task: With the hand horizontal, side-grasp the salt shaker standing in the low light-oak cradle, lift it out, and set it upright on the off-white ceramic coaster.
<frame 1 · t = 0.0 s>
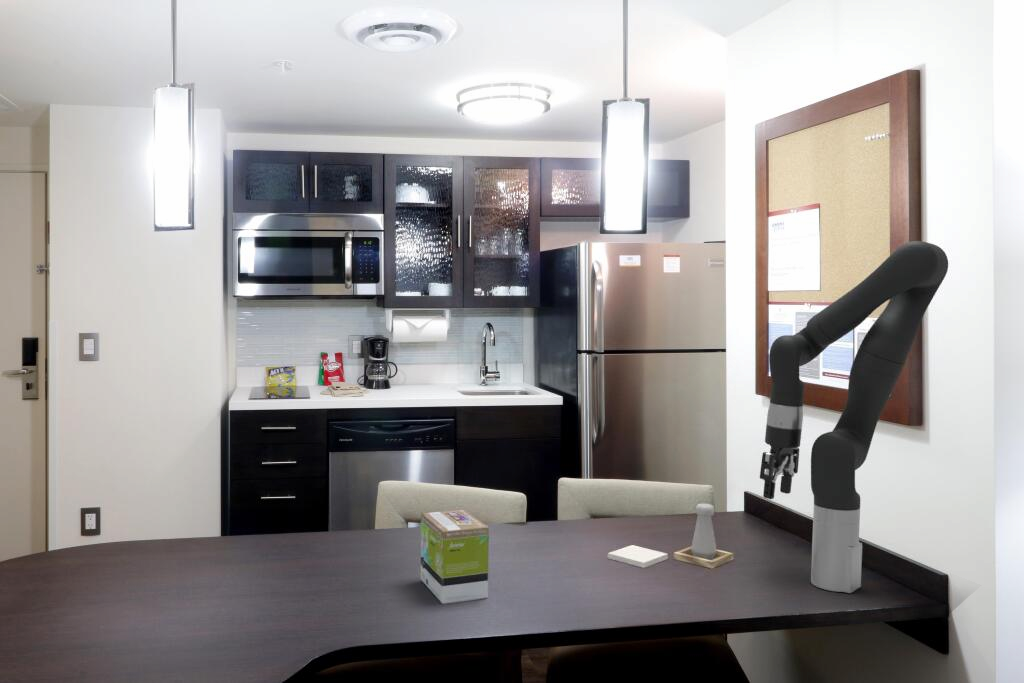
hand: (776, 495, 183), 17 cm above the counter, tool pointing down, fingers open, 8 cm apart
tea box: (452, 590, 166), on the counter
coaster: (637, 558, 191), on the counter
cradle: (703, 559, 191), on the counter
salt shaker: (703, 560, 191), resting in cradle
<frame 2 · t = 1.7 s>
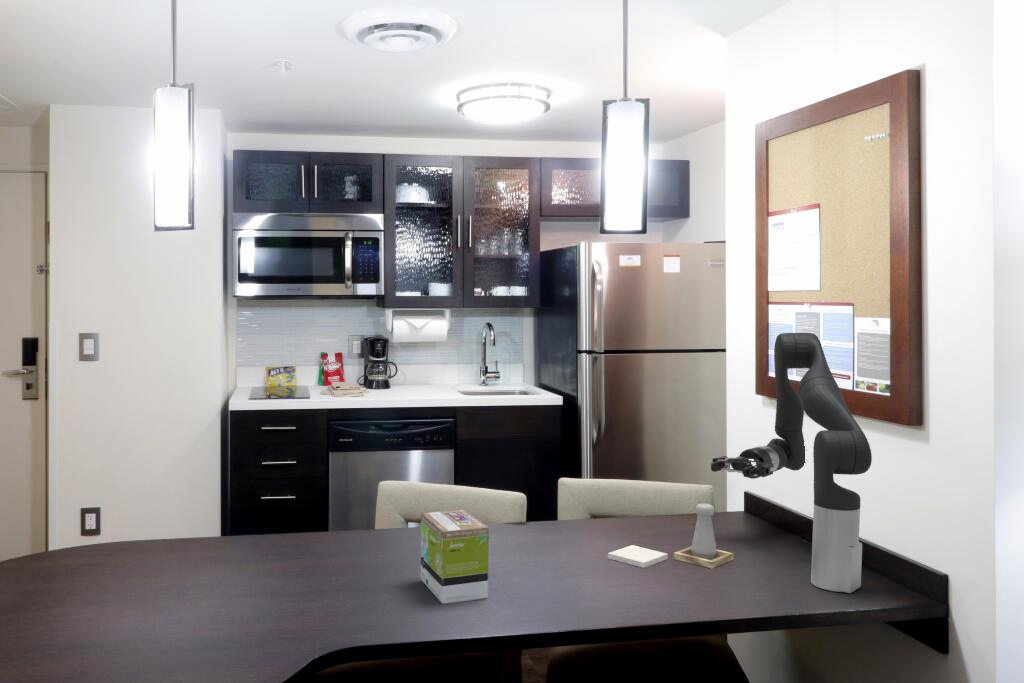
hand: (728, 470, 199), 20 cm above the counter, tool horizontal, fingers open, 8 cm apart
nothing on the counter moved.
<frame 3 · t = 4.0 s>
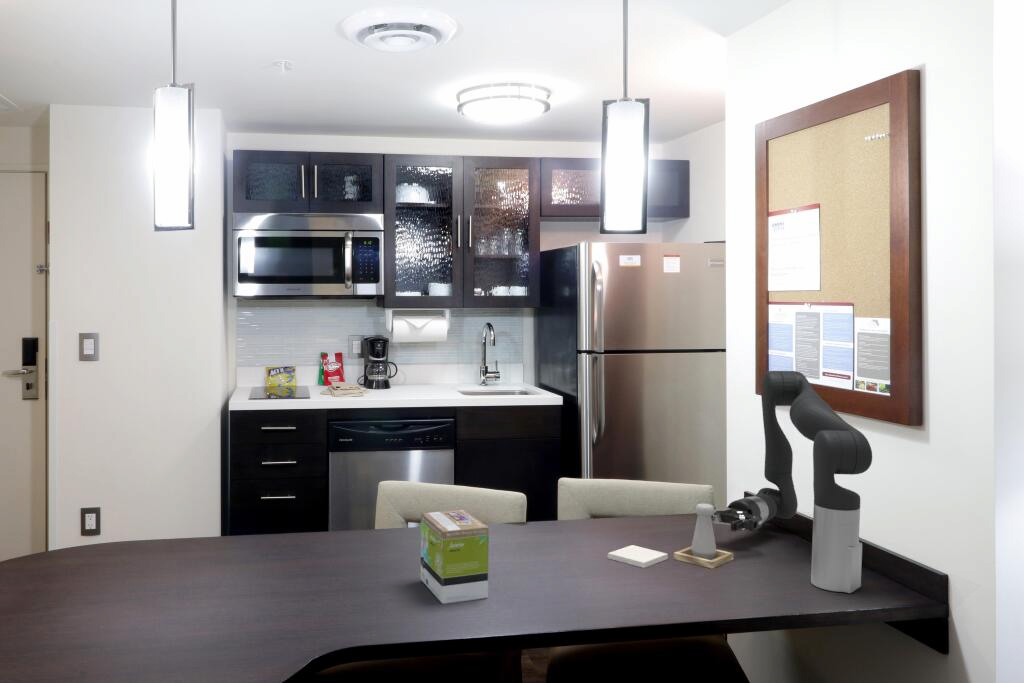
hand: (715, 523, 195), 8 cm above the counter, tool horizontal, fingers open, 8 cm apart
nothing on the counter moved.
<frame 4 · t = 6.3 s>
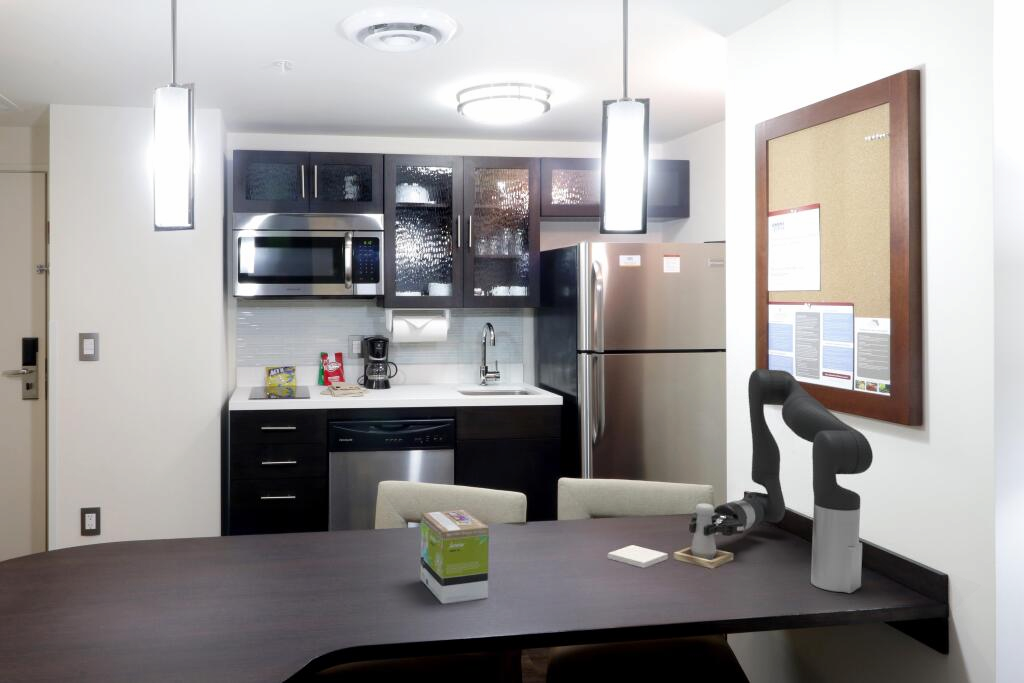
hand: (698, 529, 189), 8 cm above the counter, tool horizontal, fingers closed on salt shaker, 3 cm apart
salt shaker: (703, 560, 191), resting in cradle, touching gripper
everything else where it was.
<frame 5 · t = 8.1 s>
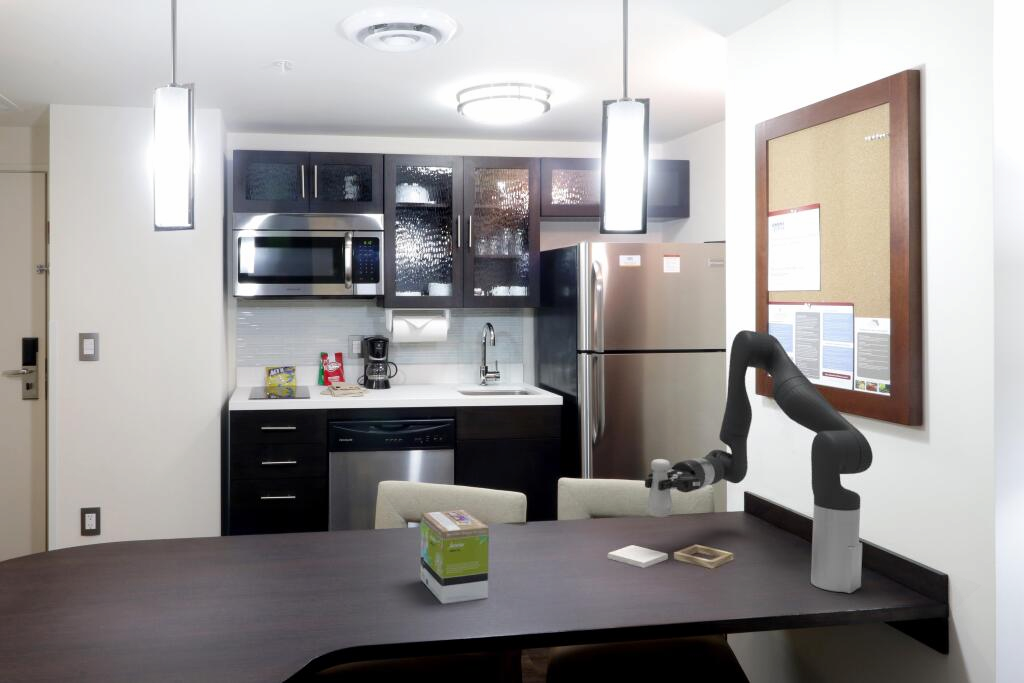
hand: (653, 484, 189), 18 cm above the counter, tool horizontal, fingers closed on salt shaker, 3 cm apart
salt shaker: (659, 515, 191), point 10 cm above the counter, touching gripper
everything else where it was.
when the fingers open (10 cm above the counter, at t = 10.2 s): salt shaker stays where it is, resting on coaster.
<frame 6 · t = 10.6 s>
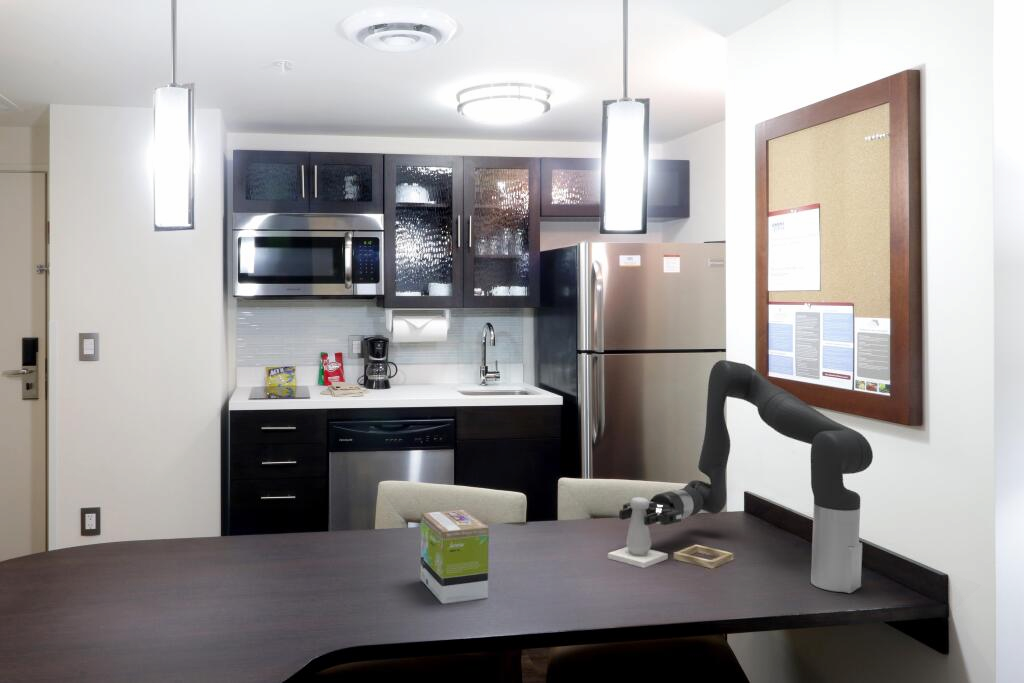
hand: (633, 517, 189), 10 cm above the counter, tool horizontal, fingers open, 6 cm apart
salt shaker: (638, 554, 191), point 1 cm above the counter, touching coaster
everything else where it was.
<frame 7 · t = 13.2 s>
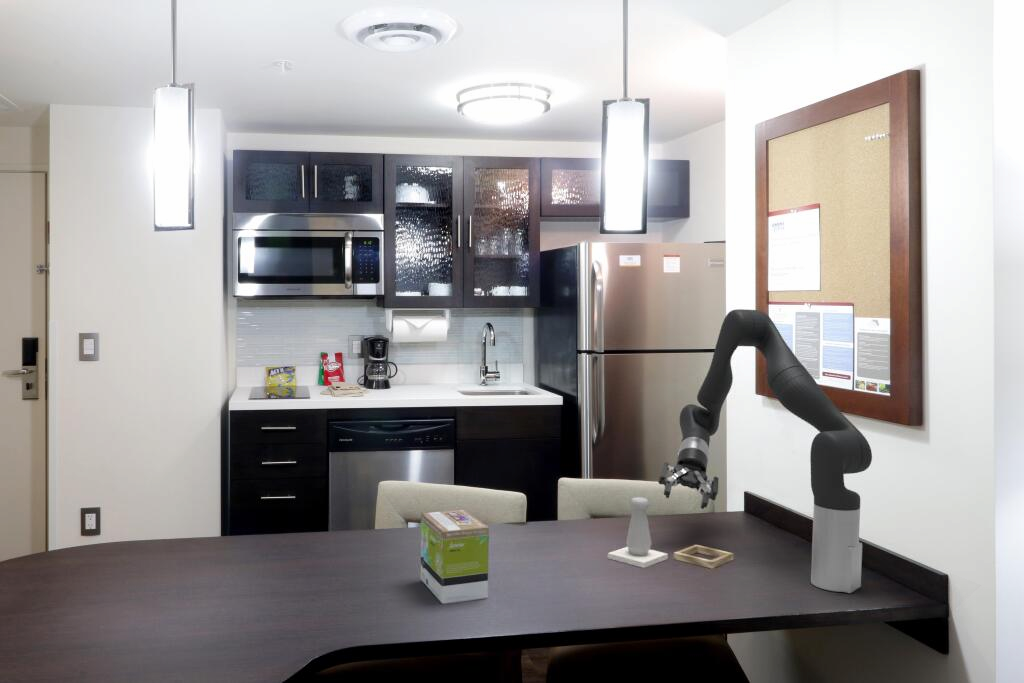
hand: (685, 500, 195), 13 cm above the counter, tool tilted 60°, fingers open, 8 cm apart
nothing on the counter moved.
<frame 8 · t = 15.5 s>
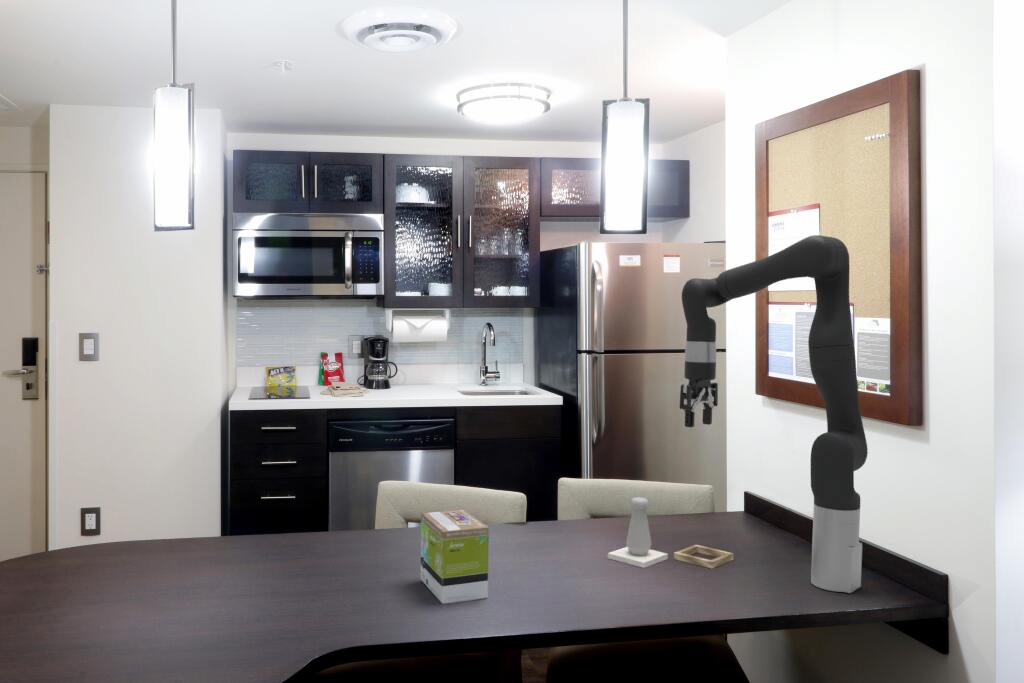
hand: (698, 425, 201), 30 cm above the counter, tool pointing down, fingers open, 8 cm apart
nothing on the counter moved.
at the end: salt shaker inside the target area on the coaster (0.2 cm from its centre), point 1.0 cm above the coaster's base; salt shaker tilted 0°; the gripper is holding nothing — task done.
